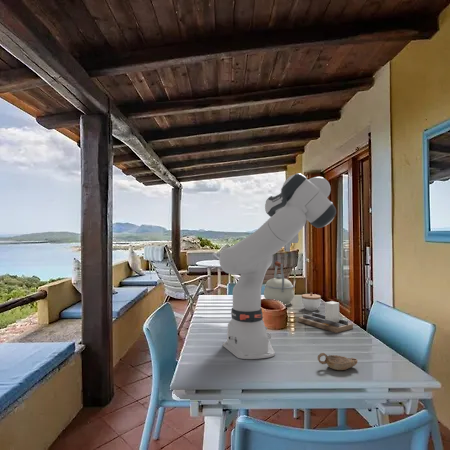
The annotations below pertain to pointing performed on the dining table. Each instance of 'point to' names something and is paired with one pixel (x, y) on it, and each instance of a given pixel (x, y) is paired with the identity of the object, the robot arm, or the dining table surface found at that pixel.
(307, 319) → the switch housing
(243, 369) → the dining table surface
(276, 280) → the kettle
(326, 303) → the switch knob
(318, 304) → the lidded jar
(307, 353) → the dining table surface
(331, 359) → the oil lamp
